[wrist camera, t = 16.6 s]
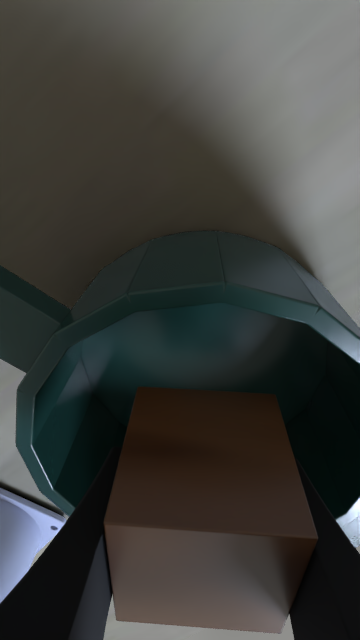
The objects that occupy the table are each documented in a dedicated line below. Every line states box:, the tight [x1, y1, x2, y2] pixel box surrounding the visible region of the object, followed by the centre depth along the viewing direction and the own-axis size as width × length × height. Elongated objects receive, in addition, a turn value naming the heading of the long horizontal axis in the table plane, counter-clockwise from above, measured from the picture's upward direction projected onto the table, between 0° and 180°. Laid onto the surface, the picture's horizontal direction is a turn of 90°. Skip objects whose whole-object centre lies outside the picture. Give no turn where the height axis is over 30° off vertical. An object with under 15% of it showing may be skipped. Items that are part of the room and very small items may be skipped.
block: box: [103, 386, 318, 634], centre depth 10 cm, size 5×5×5 cm
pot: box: [0, 231, 360, 548], centre depth 14 cm, size 13×18×6 cm
